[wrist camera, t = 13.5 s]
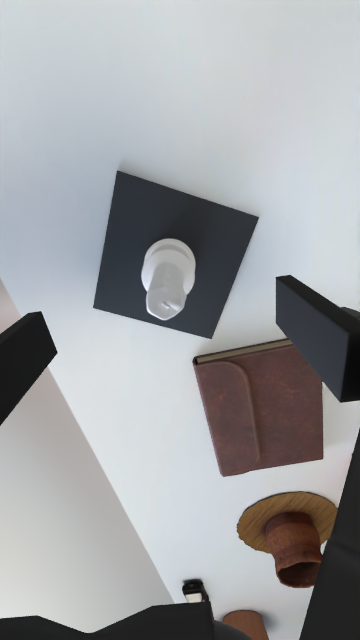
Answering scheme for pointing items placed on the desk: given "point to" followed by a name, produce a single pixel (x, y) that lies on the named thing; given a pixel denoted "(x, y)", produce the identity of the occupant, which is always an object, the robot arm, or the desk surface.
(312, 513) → the ceramic pot
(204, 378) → the notebook
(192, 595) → the toy car
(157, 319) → the mat
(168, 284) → the candle
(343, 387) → the robot arm
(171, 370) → the desk surface
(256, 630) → the potted plant
